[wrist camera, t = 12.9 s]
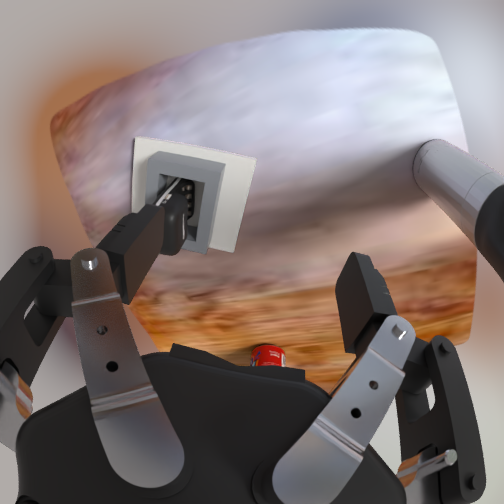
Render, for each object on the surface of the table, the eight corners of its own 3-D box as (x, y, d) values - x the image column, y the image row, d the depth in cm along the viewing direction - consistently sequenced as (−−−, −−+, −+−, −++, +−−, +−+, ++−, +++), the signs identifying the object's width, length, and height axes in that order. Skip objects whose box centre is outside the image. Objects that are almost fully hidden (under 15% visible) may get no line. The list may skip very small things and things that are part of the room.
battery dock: (257, 158, 38) (254, 169, 34) (234, 249, 47) (230, 268, 43) (138, 135, 37) (122, 144, 33) (133, 226, 46) (121, 241, 42)
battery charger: (199, 219, 43) (178, 263, 34) (175, 216, 43) (149, 259, 34) (200, 177, 39) (176, 213, 30) (175, 174, 39) (145, 209, 30)
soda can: (292, 351, 62) (293, 409, 50) (268, 364, 66) (266, 418, 54) (268, 337, 60) (265, 398, 48) (244, 351, 63) (238, 407, 51)
